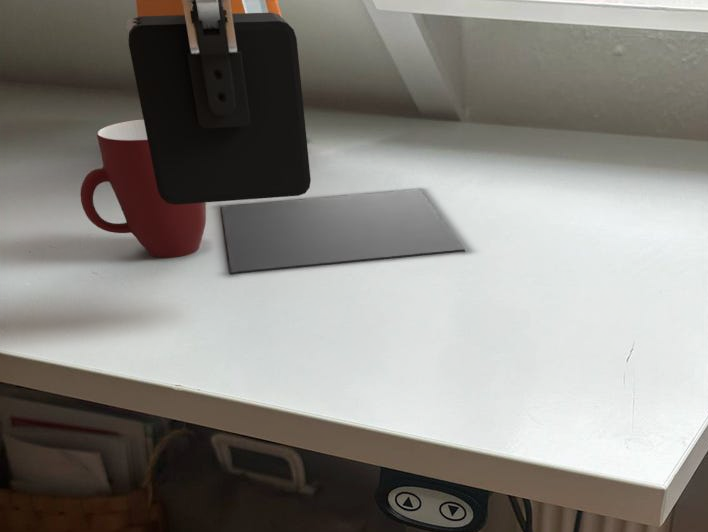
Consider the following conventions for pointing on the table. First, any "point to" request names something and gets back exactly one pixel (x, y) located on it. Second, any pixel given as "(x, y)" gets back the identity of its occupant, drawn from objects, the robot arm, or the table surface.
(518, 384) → the table surface
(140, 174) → the mug
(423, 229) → the desk mat
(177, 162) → the electronic device
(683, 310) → the table surface
